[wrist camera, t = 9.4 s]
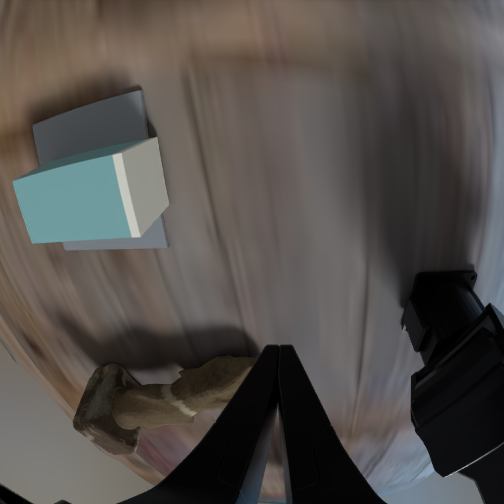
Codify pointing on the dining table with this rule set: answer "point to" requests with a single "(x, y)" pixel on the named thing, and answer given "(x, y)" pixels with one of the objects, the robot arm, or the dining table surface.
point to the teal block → (94, 194)
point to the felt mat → (95, 137)
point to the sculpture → (153, 401)
